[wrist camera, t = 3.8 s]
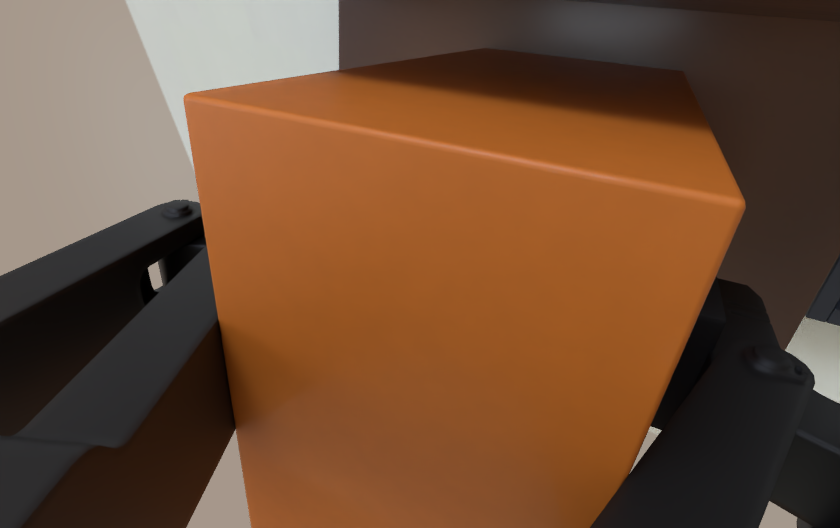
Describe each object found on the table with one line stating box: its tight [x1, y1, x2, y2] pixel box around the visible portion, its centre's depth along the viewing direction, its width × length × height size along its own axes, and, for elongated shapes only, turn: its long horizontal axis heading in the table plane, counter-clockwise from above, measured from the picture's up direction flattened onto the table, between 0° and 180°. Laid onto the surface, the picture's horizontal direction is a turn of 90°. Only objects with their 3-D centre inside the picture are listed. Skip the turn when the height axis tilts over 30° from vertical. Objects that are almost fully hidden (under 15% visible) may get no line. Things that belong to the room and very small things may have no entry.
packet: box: [184, 48, 746, 528], centre depth 12 cm, size 6×9×12 cm, turn 176°
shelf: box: [339, 0, 840, 351], centre depth 16 cm, size 17×13×20 cm
